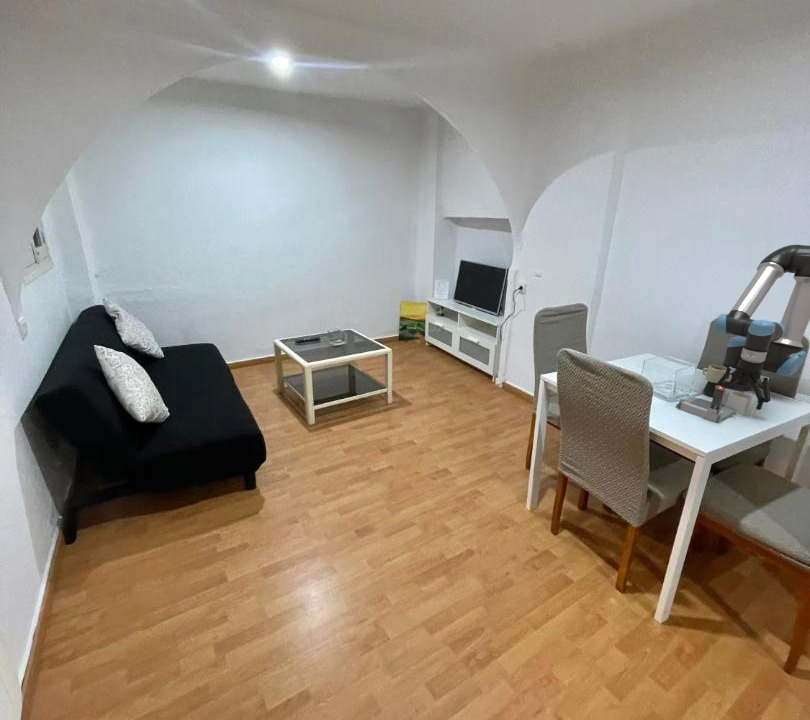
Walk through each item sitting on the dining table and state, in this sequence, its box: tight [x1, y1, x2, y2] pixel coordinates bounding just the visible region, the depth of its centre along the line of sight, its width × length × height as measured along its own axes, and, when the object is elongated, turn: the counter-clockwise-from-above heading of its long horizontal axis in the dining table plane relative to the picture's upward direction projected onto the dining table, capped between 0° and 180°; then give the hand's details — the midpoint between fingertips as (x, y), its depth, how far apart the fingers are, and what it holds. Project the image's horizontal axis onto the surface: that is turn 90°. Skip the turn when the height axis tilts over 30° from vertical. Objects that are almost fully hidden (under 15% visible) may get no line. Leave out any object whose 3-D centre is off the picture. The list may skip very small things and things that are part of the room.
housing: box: [725, 390, 754, 416], centre depth 174 cm, size 6×6×9 cm
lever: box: [707, 385, 727, 415], centre depth 165 cm, size 3×3×11 cm
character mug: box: [701, 364, 732, 397], centre depth 188 cm, size 11×7×13 cm, turn 36°
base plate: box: [675, 396, 736, 424], centre depth 174 cm, size 15×16×4 cm
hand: (736, 410), depth 175 cm, fingers open, 11 cm apart
